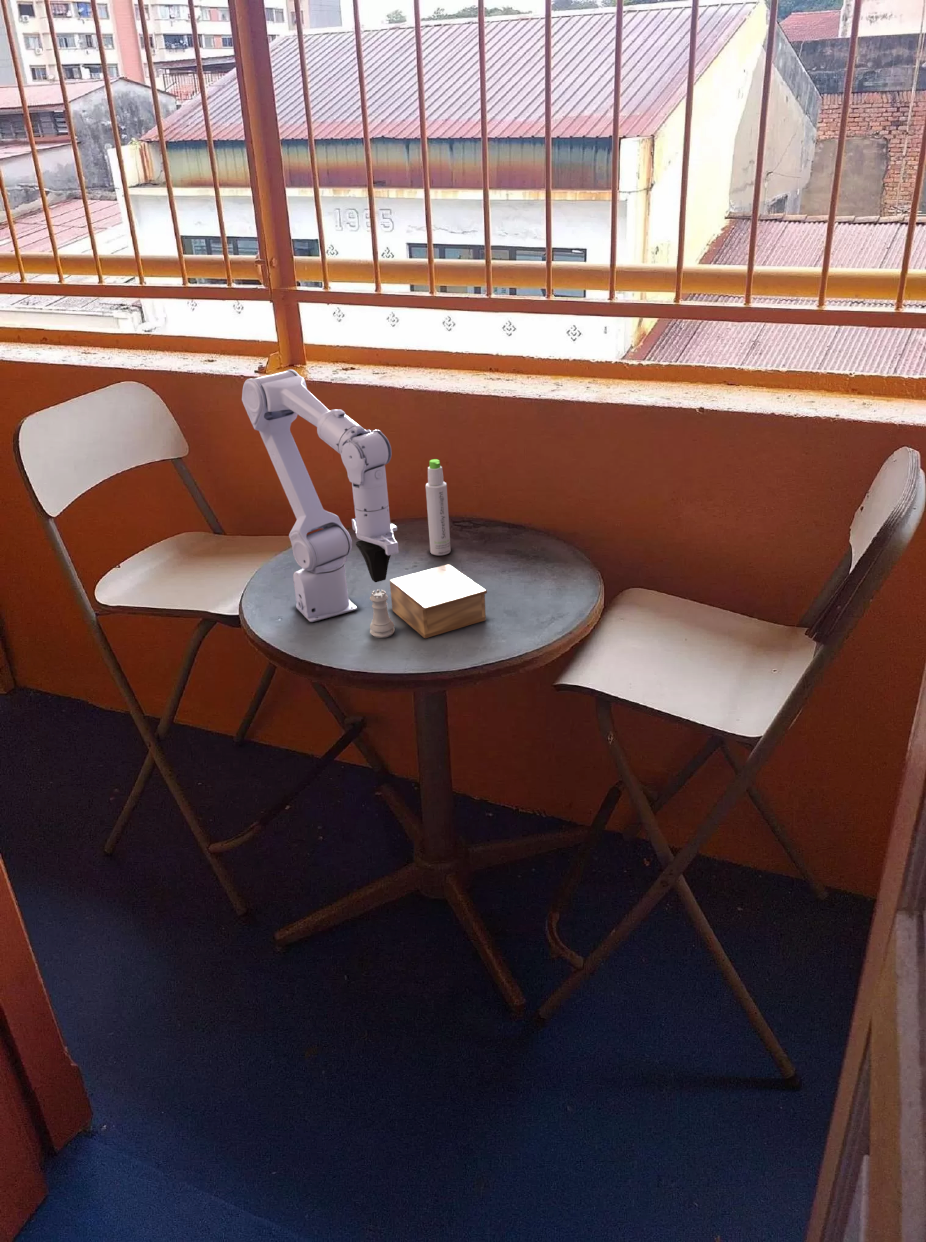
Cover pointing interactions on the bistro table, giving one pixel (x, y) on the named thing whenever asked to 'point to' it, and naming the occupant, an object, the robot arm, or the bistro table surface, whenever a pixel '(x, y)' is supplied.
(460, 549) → the bistro table surface
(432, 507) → the bottle
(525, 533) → the bistro table surface
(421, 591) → the lid
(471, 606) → the keepsake box
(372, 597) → the rook chess piece
